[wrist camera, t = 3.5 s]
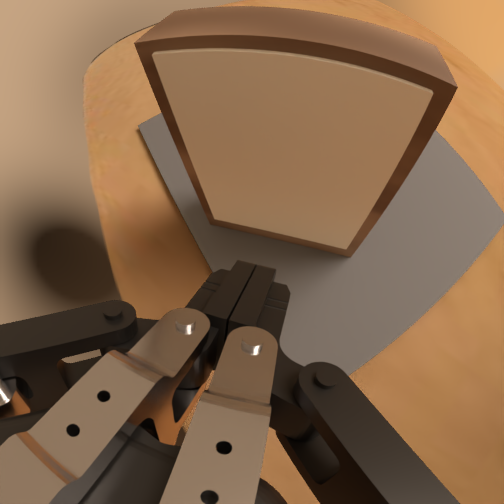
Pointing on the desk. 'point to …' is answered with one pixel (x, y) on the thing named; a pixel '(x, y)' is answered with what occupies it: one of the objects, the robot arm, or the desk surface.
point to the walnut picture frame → (294, 116)
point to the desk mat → (356, 255)
